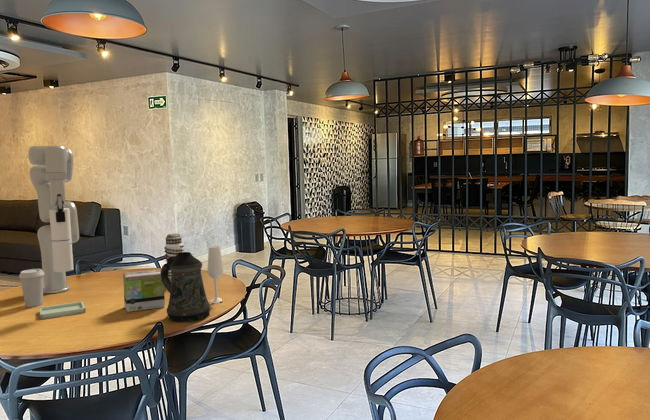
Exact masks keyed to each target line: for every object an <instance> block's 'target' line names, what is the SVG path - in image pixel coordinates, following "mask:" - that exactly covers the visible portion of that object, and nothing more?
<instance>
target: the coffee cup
mask: <svg viewBox="0 0 650 420" xmlns="http://www.w3.org/2000/svg"><path fill="white" fill-rule="evenodd" d="M43 275H44V272H43V270H42V268H31V269H25V270H22V271H20V273H19V275H18V278H20V285H21V289H22V295H23V301H24V305H25V308H36V307H39V306H42V305H43V302H44V293H43V288H44V283H43Z"/></svg>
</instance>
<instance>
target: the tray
mask: <svg viewBox="0 0 650 420" xmlns="http://www.w3.org/2000/svg"><path fill="white" fill-rule="evenodd" d="M84 313H86V306H85V304H84V301H83V300H82V301H75V302H68V303H61V304H60V303H59V304H56V305H54V304H53V305H47V306H41V307H39V315H40V316H39V317H40V318H39V319H40V320H44V319H46V320H47V319H51V318H52V319H53V318H59V317H64V316H71V315H77V314H84Z"/></svg>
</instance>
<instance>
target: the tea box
mask: <svg viewBox="0 0 650 420" xmlns="http://www.w3.org/2000/svg"><path fill="white" fill-rule="evenodd" d="M122 274H123V275H122V277H123V278H122V281H123V283H122V284H123V301H124V302H123V303H124V305H123V306H124V308H125V311H126V313H130V312H135V311H136V312H137V311H143V310H144V311H145V310H152V309H161V307H164V308H165V303H166V301H165V298H166V297H165V286H164V284H163V282H162V279H161V269H151V270H140V271H132V272H131V271H130V272H123V273H122Z"/></svg>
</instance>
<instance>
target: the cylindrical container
mask: <svg viewBox="0 0 650 420" xmlns="http://www.w3.org/2000/svg"><path fill="white" fill-rule="evenodd" d="M49 212H50V222H49V223H50V224H49V225H50V226H51V239H52V253H53V266H54V272H65V273H66V272H71V271H74V255H73V243H72V239H71V225H70V211H69V208H64V212H65V222H56V209H50V210H49Z"/></svg>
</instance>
